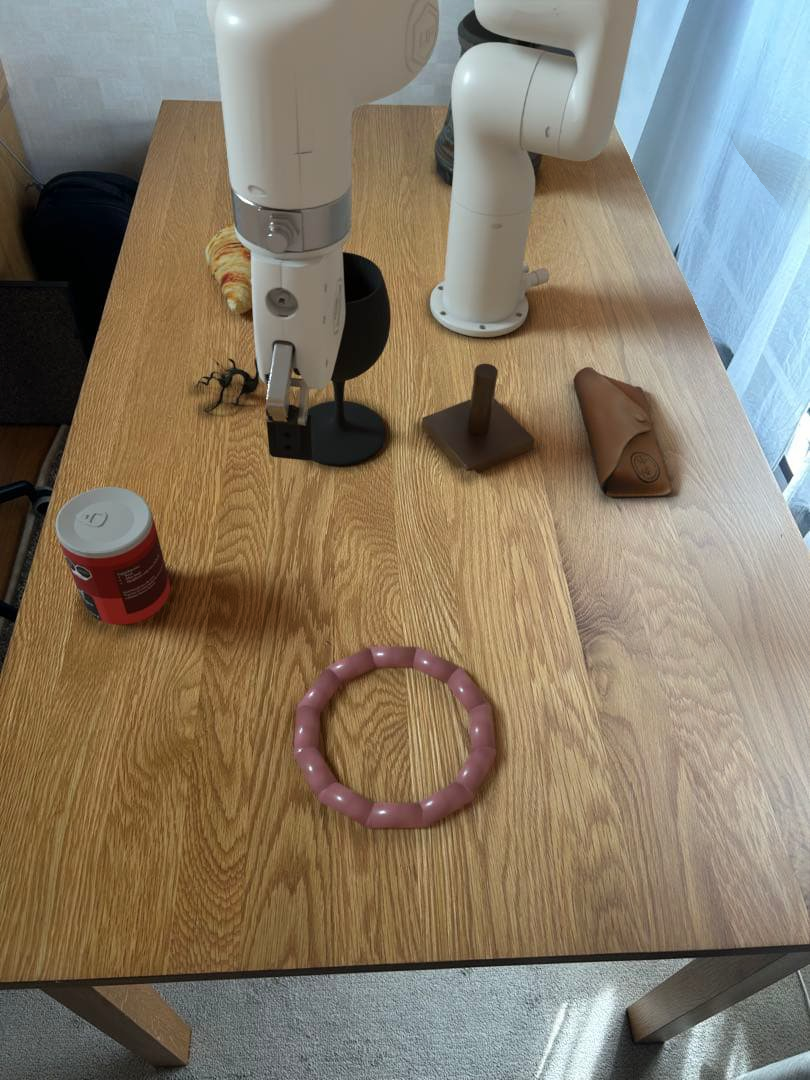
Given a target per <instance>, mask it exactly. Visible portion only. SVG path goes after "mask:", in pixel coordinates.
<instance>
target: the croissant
mask: <svg viewBox="0 0 810 1080" xmlns="http://www.w3.org/2000/svg"><path fill="white" fill-rule="evenodd" d="M204 250H205V251H204V255H205V256H204V257H205V259H206V264H207V265H208V266H209V267H210V269H211V270H210V271H211V276H212V278H213V279H214V280H215V281H217V283H218V284H219V286H220V291H221V294H222V296H224V297H225V298H226V300H227V306H228V307H229V309H230V311H231V313H234V314H237V315H238V314H239V315H241V314H243V313H247V312H248V311H250V310H251V309H253V306H252V284H251V250H249V249H248V248H246V247H245V246H244V245H243V244H242V243H241V242H240V241H239V240H238V238H237V236H236V233H235V225H234V222H233V223H231V224H228V225H227V226H225V227H224V228H222V229H220V230H219V231H218V232H217V234H215V235H213V237H212V238H211V240H210V241H209V243H208V244H207V245H206V247H205V249H204Z"/></svg>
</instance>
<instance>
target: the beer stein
mask: <svg viewBox="0 0 810 1080" xmlns="http://www.w3.org/2000/svg"><path fill="white" fill-rule="evenodd" d="M457 40H458V43H459V45H460V53H459V58H458V61H459V60H460V58H461V57H462V56H463V55H464V53H465V52H466V51H468V50H469V49H470V48H472V47H474V46H476V45H479V44H482V43H490V42H500V43H508V44H514V45H519V46H524V47H529V48H534V49H539V50H544V47H545V45H542V44H537V43H532V42H527V41H522V40H518V39H513V38H509V37H505V36H502V35H499V34H496V33H493V32H491V31H489V30H487V29H486V28H484V27H483V26H482V25H481V24H480V22H479V21H478V19H477V17H476V13H475V8H474V9H471V11H470V12H468V13H467V14H466V15H465V16H464V17H463V18H462V19H461V20H460V21H459V23H458V25H457ZM433 151H434V158H435V164H436V173H437V174H438V175H439V177H440V178H441V180H442V181H443V182H444V183H445V184H447V185H448V186H450V187H452V183H453V170H454V126H453V116H452V104H451V98H450V99H449V105H448V109H447V113H446V116H445V119H444V122H443V126H442V129H441V131H440V132H439V135H438V136H437V138H436V141H435V143H434V148H433ZM527 153H528V155H529V157H530V160H531V163H532V166H533V169H534V175H535V179H536V178H537V176H538V175H537V174H538V172H539V169H540V166H541V164H542V160H543V154H539V153H534V152H530V151H527Z"/></svg>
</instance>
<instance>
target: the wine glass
mask: <svg viewBox="0 0 810 1080" xmlns="http://www.w3.org/2000/svg"><path fill="white" fill-rule="evenodd" d="M343 271H344V291H345V322H344V328H343V333H342V337H341V341H340V346H339V350H338V354H337V358H336V362H335V366H334V370H333V374H332V377H331V380H330V382H332V387H333V394H334V395H333V396H334V400H331V401H330V400H329V401H324V402H321V403H318V404H316V405H313V406H311V407H308V413H307V415H312V432H313V456H312V459H311V460H312V461H313V462H316V463H319V464H321V465H325V466H331V467H348V466H355V465H358V464H361V463H364V462H366V461H368V460H369V459H371V458H373V457H375V456H376V455H377V454H378V453H379V452H380V451H381V450H382V448H383V447H384V445H385V442H386V438H387V428H386V424H385V423H384V421H383V419H382V417H381V416H380V415H379V414H378V413H377V412H376V411H375V410H373V409H371V408H370V407H368V406H366V405H364V404H362V403H358V402H354V401H350V400H345V399H344V398H345V397H344V396H345V385H346V382H347V381H351V380H353V379H355V378H358V377H360V376H361V375H363V374H365V373H366V372H367V371H369V370H370V369H371V368H372V367H373V366H374V365H375V364H376V363H377V362H378V360H379V359H380V357H381V356H382V354H383V352H384V350H385V348H386V346H387V344H388V340H389V337H390V331H391V319H392V318H391V303H390V297H389V293H388V289H387V285H386V282H385V279H384V276H383V273H382V271H381V269H380V267H379V266H378V265H377V264H376V263H375V262H373V260H371V259H369V258H367V257H365V256H362V255H361V254H356V253H352V252H346V251H343ZM311 460H310V461H311Z"/></svg>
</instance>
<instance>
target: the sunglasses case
mask: <svg viewBox="0 0 810 1080" xmlns="http://www.w3.org/2000/svg"><path fill="white" fill-rule="evenodd" d="M573 386H574V391H575V394H576V398H577V401H578V405H579V410H580V412H581V417H582V420H583V424H584V428H585V431H586V435H587V440H588V444H589V448H590V451H591V455H592V456H591V457H592V461H593V463H594V469H595V474H596V478H597V481H598V485H599V487H600V490H601V491H602V493H603V494H604V495H605V496H606V497H607V498H620V499H621V498H625V499H626V498H627V499H635V498H639V499H640V498H654V497H655V498H656V497H664V496H669V495H671V494H672V493H673V487H672V481H671V477H670V475H669V472H668V469H667V465H666V464H665V462H666V461H665V460H664V457H663V454H662V453H663V452H662V451H661V448H660V445H659V441H658V439H657V436H656V432H655V428H654V425H653V422H652V418H651V415H650V412H649V408H648V404H647V401H646V400H647V399H646V395H645V392H644V389H643V387H641V386H634V385H631V384H628V383H626V382H624V381H620V380H618V379H615V378H612V377H610V376H607V375H604V374H602V373H600V372H598V371H597V370H595V369H594V368H593V367H592V366H591V367H590V366H585V367H583V368H581V369H580V370H578V371H577V372H576V374H575V375H574V378H573Z"/></svg>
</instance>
